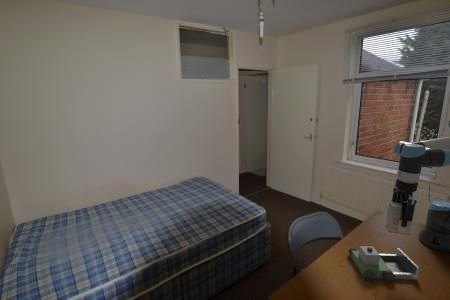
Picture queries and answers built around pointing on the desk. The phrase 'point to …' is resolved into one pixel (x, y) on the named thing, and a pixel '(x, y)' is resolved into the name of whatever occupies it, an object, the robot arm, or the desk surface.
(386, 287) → the desk surface
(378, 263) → the toy wooden truck
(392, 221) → the supplement box
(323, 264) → the desk surface
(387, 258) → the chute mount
